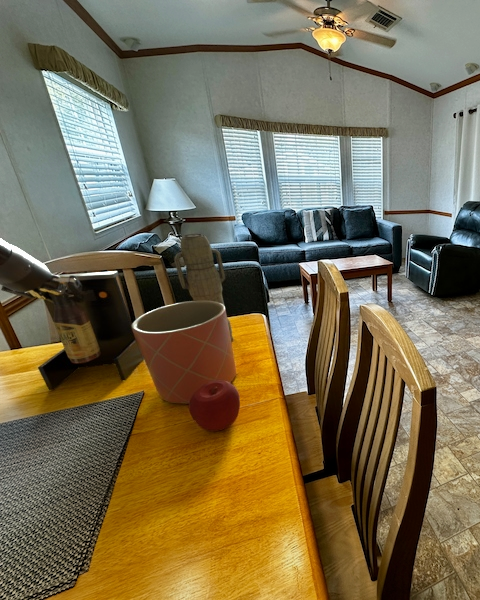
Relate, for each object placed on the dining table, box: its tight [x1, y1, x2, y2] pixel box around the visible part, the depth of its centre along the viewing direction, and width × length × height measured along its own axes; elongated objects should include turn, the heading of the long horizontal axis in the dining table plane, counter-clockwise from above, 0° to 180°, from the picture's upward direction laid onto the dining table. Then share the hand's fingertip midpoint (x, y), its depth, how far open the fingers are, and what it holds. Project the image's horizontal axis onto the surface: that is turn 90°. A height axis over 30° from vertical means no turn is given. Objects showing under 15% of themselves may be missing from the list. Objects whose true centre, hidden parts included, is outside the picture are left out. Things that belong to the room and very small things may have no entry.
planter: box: [132, 300, 237, 405], centre depth 82 cm, size 19×19×20 cm
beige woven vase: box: [173, 233, 234, 343], centre depth 100 cm, size 9×12×35 cm
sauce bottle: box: [48, 288, 101, 363], centre depth 83 cm, size 6×6×20 cm
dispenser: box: [37, 270, 145, 391], centre depth 86 cm, size 12×18×27 cm, turn 104°
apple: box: [188, 380, 241, 432], centre depth 71 cm, size 10×10×10 cm
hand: (70, 299), depth 83 cm, fingers closed on sauce bottle, 4 cm apart
